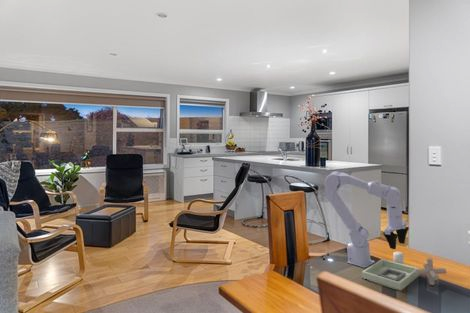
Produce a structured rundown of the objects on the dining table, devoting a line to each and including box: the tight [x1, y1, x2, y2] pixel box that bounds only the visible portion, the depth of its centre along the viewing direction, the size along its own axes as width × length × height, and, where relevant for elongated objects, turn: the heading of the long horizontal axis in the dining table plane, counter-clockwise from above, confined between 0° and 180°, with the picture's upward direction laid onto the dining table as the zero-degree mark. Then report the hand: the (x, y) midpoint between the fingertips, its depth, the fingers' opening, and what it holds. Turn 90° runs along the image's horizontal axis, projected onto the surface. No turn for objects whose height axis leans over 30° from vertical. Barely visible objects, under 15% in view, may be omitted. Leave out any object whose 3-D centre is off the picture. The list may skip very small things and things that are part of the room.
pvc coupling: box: [392, 251, 405, 265], centre depth 141 cm, size 4×4×6 cm
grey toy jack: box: [416, 257, 447, 286], centre depth 124 cm, size 10×10×10 cm
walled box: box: [361, 258, 421, 292], centre depth 133 cm, size 16×16×3 cm
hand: (397, 245), depth 141 cm, fingers open, 7 cm apart
